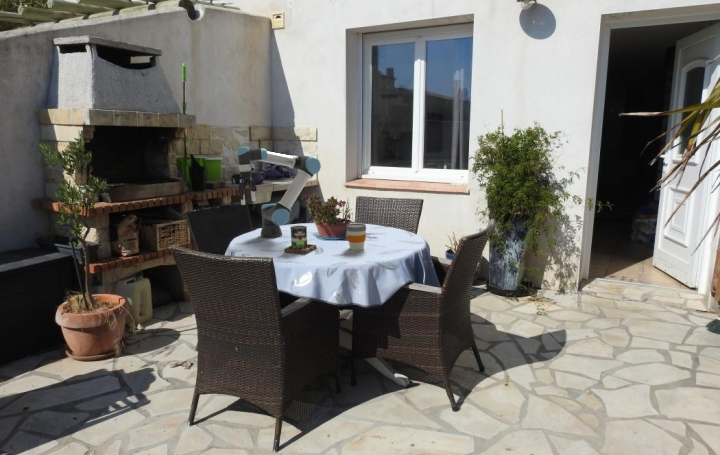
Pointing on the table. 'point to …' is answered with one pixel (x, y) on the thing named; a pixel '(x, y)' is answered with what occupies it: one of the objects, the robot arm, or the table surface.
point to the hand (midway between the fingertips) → (248, 202)
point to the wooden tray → (298, 251)
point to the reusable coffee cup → (356, 236)
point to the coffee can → (299, 237)
